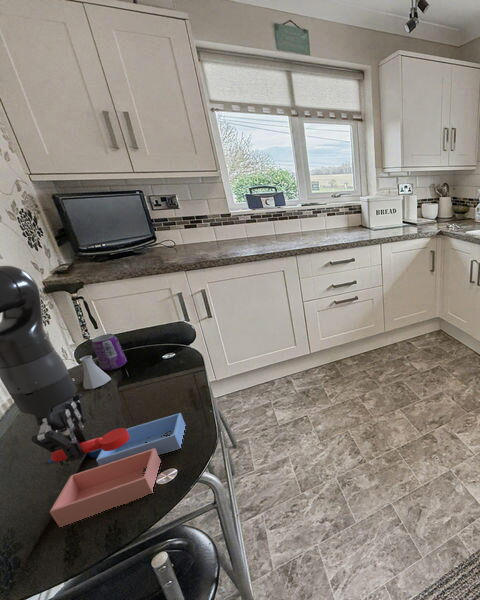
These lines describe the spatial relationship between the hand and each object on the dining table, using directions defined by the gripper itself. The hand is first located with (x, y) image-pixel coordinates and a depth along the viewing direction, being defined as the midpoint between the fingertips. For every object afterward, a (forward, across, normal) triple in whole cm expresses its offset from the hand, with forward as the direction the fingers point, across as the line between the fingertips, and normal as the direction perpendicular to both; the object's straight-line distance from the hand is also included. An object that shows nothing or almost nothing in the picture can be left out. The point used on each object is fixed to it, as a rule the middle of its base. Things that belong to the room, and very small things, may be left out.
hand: (80, 453), depth 64 cm
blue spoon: (+12, -17, -9) cm, 23 cm away
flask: (+12, -57, -18) cm, 61 cm away
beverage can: (+12, -68, -16) cm, 71 cm away
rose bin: (+12, 0, +2) cm, 12 cm away
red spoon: (0, 0, +2) cm, 2 cm away
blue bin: (+12, -12, +5) cm, 17 cm away
